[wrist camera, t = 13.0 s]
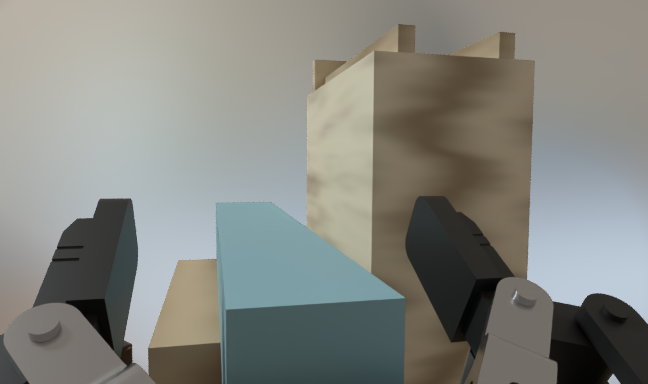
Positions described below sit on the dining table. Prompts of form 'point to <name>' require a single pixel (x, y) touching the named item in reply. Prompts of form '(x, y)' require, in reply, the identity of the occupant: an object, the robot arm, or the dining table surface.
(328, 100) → the birch stand
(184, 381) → the oak step
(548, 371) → the robot arm
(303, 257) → the teal block
